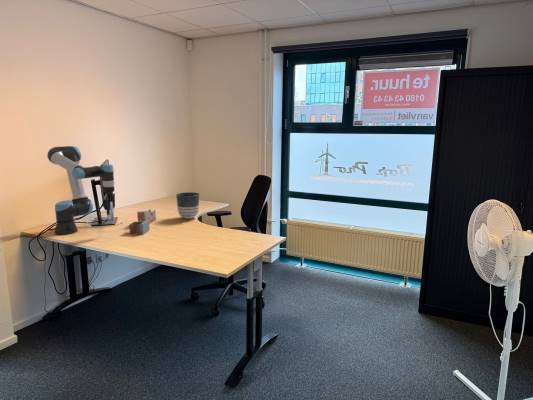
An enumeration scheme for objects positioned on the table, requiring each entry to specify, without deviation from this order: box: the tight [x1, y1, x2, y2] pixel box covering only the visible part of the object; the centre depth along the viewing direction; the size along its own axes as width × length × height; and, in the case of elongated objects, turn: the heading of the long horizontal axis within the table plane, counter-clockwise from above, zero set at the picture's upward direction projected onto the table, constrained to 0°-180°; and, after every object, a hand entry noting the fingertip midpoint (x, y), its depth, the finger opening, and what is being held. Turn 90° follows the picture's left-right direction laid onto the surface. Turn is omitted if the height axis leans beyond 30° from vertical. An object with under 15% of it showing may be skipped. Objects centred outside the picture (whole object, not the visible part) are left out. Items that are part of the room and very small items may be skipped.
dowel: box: [107, 202, 114, 222], centre depth 270 cm, size 4×4×14 cm
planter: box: [175, 191, 200, 220], centre depth 324 cm, size 20×20×21 cm
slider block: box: [128, 221, 143, 235], centre depth 282 cm, size 9×9×7 cm
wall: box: [140, 220, 150, 236], centre depth 281 cm, size 2×12×8 cm, turn 176°
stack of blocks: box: [136, 208, 157, 225], centre depth 308 cm, size 21×6×12 cm, turn 174°
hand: (110, 217), depth 271 cm, fingers closed on dowel, 3 cm apart
